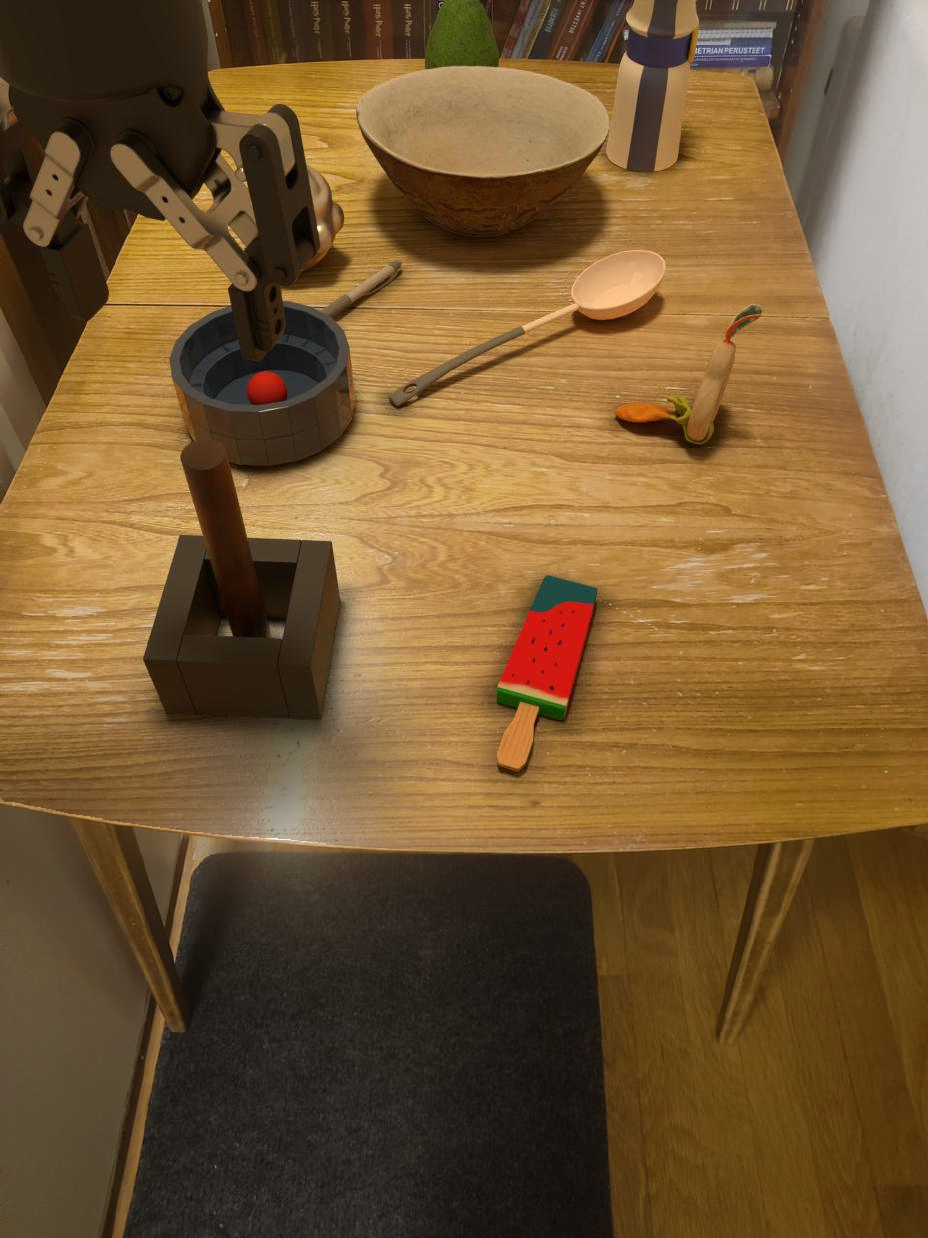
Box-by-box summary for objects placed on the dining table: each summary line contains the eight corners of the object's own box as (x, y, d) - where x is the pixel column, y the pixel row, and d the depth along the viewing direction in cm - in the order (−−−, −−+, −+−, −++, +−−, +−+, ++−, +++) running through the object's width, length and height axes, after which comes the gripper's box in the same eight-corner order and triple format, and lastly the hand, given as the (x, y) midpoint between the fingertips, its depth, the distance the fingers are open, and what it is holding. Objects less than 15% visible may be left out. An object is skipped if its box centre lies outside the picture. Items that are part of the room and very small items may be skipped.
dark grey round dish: (169, 468, 78) (151, 408, 73) (205, 357, 86) (190, 297, 81) (344, 474, 77) (337, 414, 73) (363, 363, 86) (357, 302, 81)
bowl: (489, 126, 111) (491, 28, 103) (648, 215, 100) (664, 114, 92) (316, 199, 102) (305, 99, 94) (471, 307, 91) (473, 203, 83)
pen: (405, 271, 94) (405, 258, 93) (304, 345, 87) (302, 331, 86) (397, 267, 94) (397, 254, 93) (295, 340, 88) (293, 326, 86)
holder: (165, 713, 64) (142, 659, 59) (198, 592, 70) (179, 534, 65) (321, 720, 64) (310, 666, 59) (340, 598, 70) (332, 540, 65)
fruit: (466, 84, 117) (467, -32, 108) (511, 109, 114) (516, -8, 104) (412, 104, 114) (408, -13, 105) (456, 131, 110) (456, 12, 101)
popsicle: (472, 750, 61) (540, 572, 70) (472, 762, 62) (538, 585, 71) (545, 772, 60) (603, 588, 69) (543, 783, 61) (601, 602, 70)
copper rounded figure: (277, 305, 91) (260, 201, 83) (231, 255, 95) (211, 152, 87) (363, 274, 94) (355, 170, 86) (315, 227, 98) (303, 125, 91)
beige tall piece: (659, 376, 85) (684, 254, 76) (743, 418, 82) (779, 296, 73) (608, 420, 81) (627, 298, 72) (694, 466, 78) (725, 345, 69)
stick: (235, 667, 66) (175, 468, 52) (242, 638, 68) (185, 437, 54) (271, 668, 66) (221, 470, 52) (277, 639, 68) (230, 438, 53)
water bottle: (682, 136, 110) (732, -140, 90) (680, 175, 105) (733, -108, 85) (607, 129, 111) (640, -145, 91) (602, 169, 106) (636, -114, 86)
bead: (246, 419, 80) (240, 388, 78) (253, 393, 82) (247, 362, 80) (286, 421, 80) (281, 389, 78) (292, 395, 82) (287, 363, 80)
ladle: (680, 300, 90) (684, 256, 86) (419, 456, 84) (410, 417, 80) (637, 265, 93) (638, 222, 89) (381, 414, 87) (371, 375, 83)
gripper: (-202, -85, 31) (-11, 345, 44) (207, -22, 28) (284, 418, 41) (-52, -157, 36) (83, 254, 48) (315, -108, 33) (355, 314, 46)
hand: (175, 329), depth 45 cm, fingers open, 8 cm apart
